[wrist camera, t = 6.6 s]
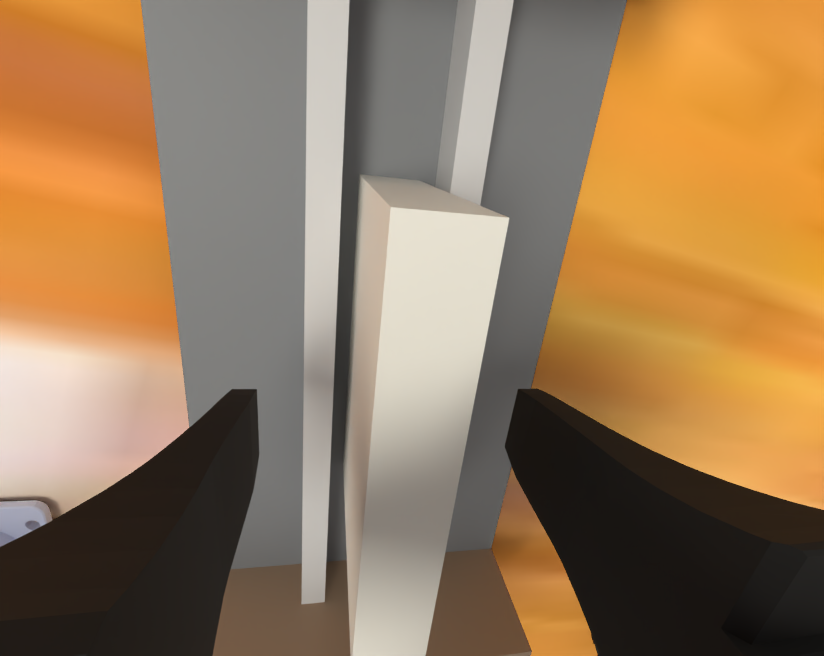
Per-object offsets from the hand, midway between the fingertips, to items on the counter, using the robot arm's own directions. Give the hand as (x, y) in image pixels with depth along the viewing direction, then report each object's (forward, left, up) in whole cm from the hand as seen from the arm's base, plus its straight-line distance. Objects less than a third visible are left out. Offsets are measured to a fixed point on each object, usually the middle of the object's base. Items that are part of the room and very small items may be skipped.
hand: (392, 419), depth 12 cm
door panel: (0, 0, -5) cm, 5 cm away
